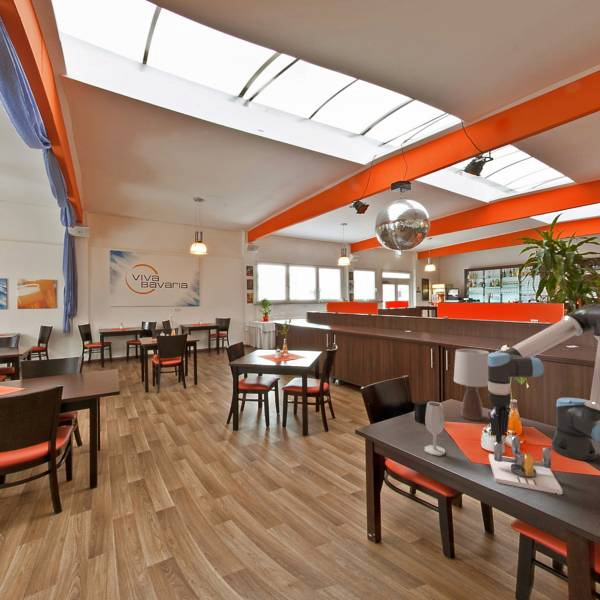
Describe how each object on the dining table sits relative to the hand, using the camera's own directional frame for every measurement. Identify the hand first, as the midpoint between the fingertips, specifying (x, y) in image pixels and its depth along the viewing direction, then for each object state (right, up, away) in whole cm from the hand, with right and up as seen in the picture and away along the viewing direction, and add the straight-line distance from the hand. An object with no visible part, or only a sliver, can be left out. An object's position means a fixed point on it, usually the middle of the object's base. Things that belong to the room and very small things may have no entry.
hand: (500, 451), depth 132 cm
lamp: (+17, -6, +53) cm, 56 cm away
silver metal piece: (+5, -5, -5) cm, 9 cm away
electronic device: (-11, -6, +49) cm, 51 cm away
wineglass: (-20, -7, +14) cm, 25 cm away
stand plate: (+5, -6, -5) cm, 10 cm away
